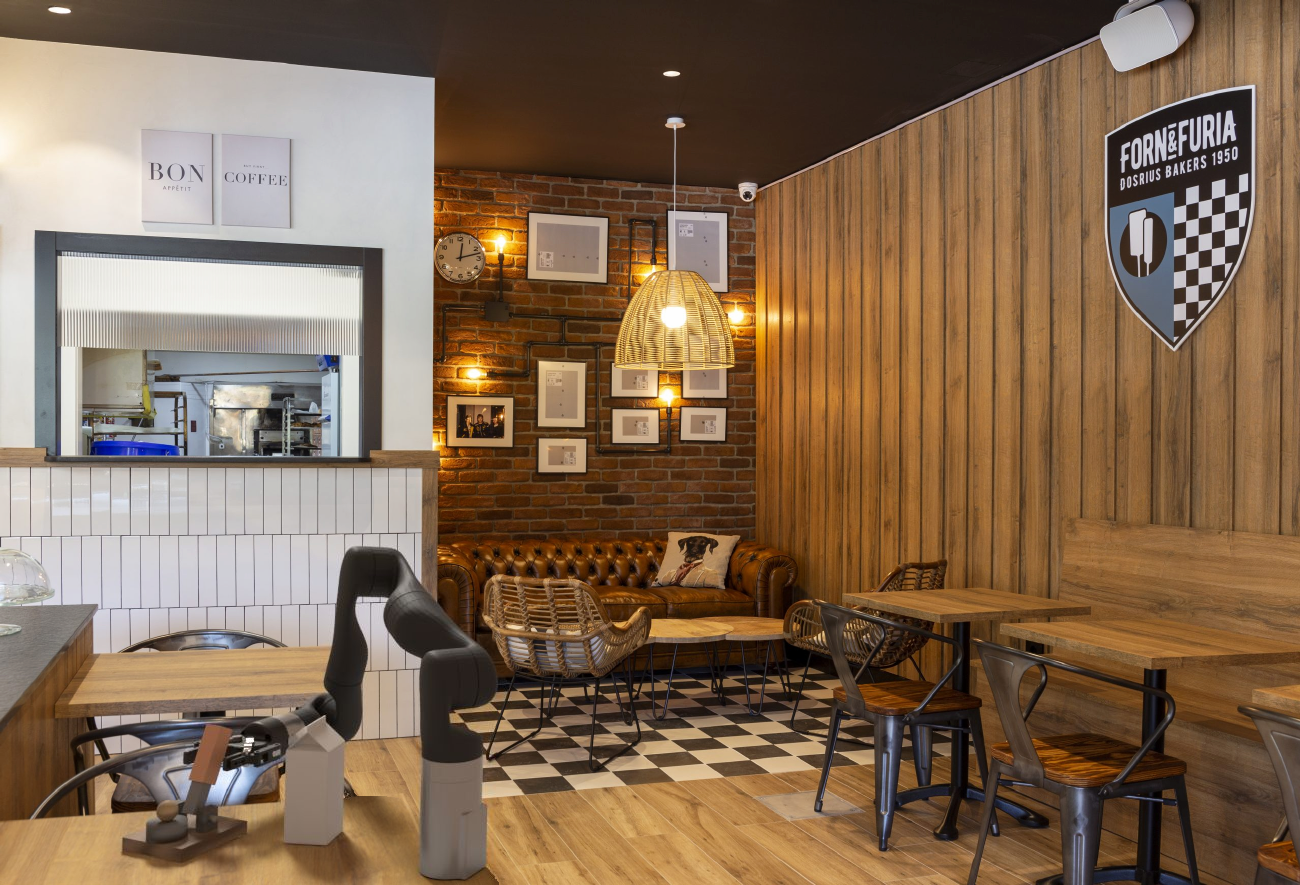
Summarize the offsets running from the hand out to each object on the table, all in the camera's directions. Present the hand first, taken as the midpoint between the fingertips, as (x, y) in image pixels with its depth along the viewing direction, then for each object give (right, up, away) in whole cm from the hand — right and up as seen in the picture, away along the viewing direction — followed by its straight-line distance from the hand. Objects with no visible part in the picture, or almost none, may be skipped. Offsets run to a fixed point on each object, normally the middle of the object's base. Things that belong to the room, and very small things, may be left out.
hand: (204, 761), depth 178 cm
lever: (-1, -8, -2) cm, 8 cm away
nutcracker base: (-2, -12, -3) cm, 12 cm away
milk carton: (+18, -12, 0) cm, 22 cm away
